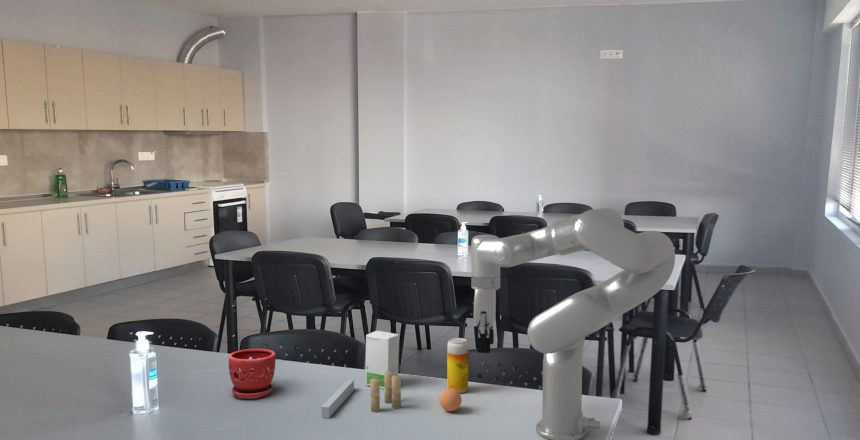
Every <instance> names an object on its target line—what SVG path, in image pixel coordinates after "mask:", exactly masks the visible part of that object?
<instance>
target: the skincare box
mask: <svg viewBox="0 0 860 440" xmlns="http://www.w3.org/2000/svg"><path fill="white" fill-rule="evenodd" d="M399 357H400V334H398V333H392V332H388V331H382V330H375V331H373V332H370V333H367V334H366V335H365V375H364V376H365V377H364V378H365V380H364V381H365V382H364V384H365V386H367V387H371V384H370V380H371V379H374V378H377V379H379V389H382V390H385V383H384V372H385V371H393V376H395V375H398V376H399V365H400V364H399V363H400V362H399V361H400V360H399V359H400V358H399Z"/></svg>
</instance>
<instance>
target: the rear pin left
mask: <svg viewBox="0 0 860 440" xmlns="http://www.w3.org/2000/svg"><path fill="white" fill-rule="evenodd" d="M370 384H371V386H370V412H372V413H378V412H380V411H381V410H380V409H381V408H380V407H381V405H380V404H381V402H380V399H381V398H380V397H381V395H380V392H381V391H380V389H381V388H379V379H377V378H374V379H371V380H370Z"/></svg>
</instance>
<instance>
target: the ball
mask: <svg viewBox="0 0 860 440" xmlns="http://www.w3.org/2000/svg"><path fill="white" fill-rule="evenodd" d="M438 401H439V405H440V407H441V408H442V409H443V410H444V411H447V412H454V411H456V410H458V409H459V408H460V406H461V405H462V401H463V400H462V395H461V393H459V392H458V391H457V390H455V389H452V388H449V389H448V388H446V389H444V390H442V391H441V393H440V395H439V400H438Z"/></svg>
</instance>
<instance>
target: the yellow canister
mask: <svg viewBox="0 0 860 440" xmlns="http://www.w3.org/2000/svg"><path fill="white" fill-rule="evenodd" d="M446 346H447V347H446V348H447V351H446V352H447V353H446V356H447V357H446V358H447V365H446V367H447V369H446V371H447V375H446V376H447V378H446V379H447V381H446V383H447V384H446V385H447V386H446V389H449V388H452V389H455V390H457V391H458V392H459V393H460V394H464V393H466V392H467V390H468V389H469V343H468V340H467V339H466V338H464V337H463V338H462V337H453V338H449V339H448V341H447V345H446Z"/></svg>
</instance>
